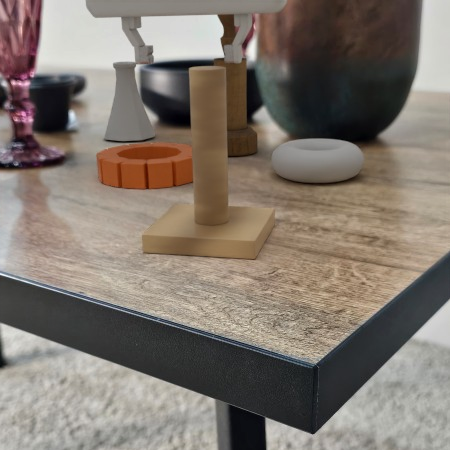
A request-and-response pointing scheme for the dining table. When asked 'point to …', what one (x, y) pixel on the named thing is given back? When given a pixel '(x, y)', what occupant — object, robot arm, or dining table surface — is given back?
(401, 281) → the dining table surface
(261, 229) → the stand
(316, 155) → the donut
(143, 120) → the flask
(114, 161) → the ring
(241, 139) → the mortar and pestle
